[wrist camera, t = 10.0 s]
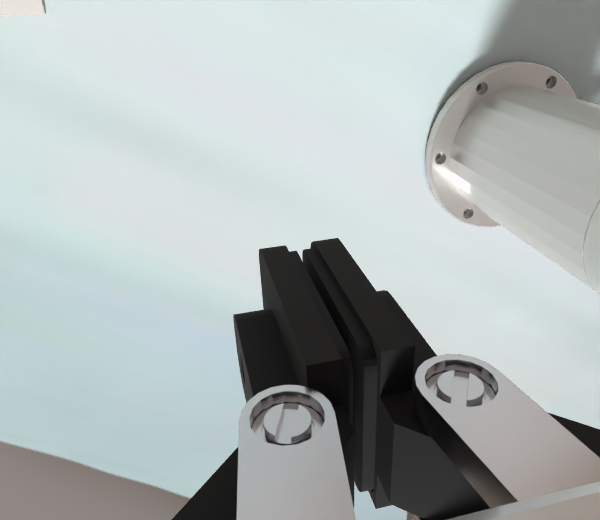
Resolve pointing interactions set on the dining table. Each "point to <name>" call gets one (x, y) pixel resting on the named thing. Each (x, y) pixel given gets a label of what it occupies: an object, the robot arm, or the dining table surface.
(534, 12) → the dining table surface
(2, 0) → the mat
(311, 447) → the robot arm
